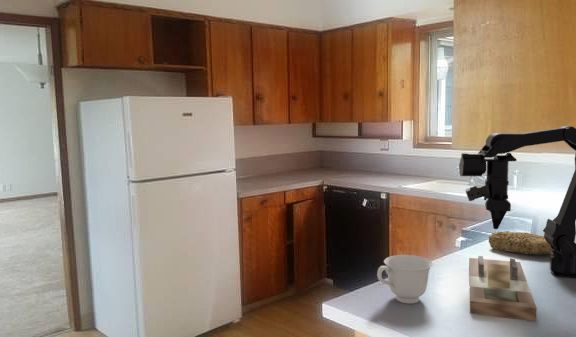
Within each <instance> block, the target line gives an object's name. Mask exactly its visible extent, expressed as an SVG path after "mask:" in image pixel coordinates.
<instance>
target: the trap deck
mask: <svg viewBox="0 0 576 337" xmlns="http://www.w3.org/2000/svg"><path fill="white" fill-rule="evenodd" d="M477 257H478V258H475V257H469V258H468V275H469V276H468V277H469V279H468V282H469V285H468V286H470V288H469V313H470V314H474V313H477V314H476V315H484V316H492V317H501V318H509V319H517V320H525V321H533V322H536V321H537V307H536V303H535V300H534V298H533V294H532V292H531V289H530V287H529V284H528V281H527V278H526V275H525V273H524V269H523V266H522V264H521V262H520V261H516V258H512V257H511V258H509V260H500V259H487V258H486V259H485V258H484V256H483V255H478V256H477ZM488 264H499V265H509V269H510V289H508V288H498V287H489V286H488V281H487V274H488Z"/></svg>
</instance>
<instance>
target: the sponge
mask: <svg viewBox="0 0 576 337" xmlns="http://www.w3.org/2000/svg"><path fill="white" fill-rule="evenodd" d="M488 243H489V246H490V248H492V249H494V250H499V251H504V252H511V253H512V252H513V253H517V254H519V253H520V254H523V255H536V256H537V255H549V254H552V251H555V250H553V249H551V246H550V244H549V243H548V242H547V241H546V240H545V238H544V235H539V234H534V233H530V232H520V231H519V232H518V231H517V232H516V231H515V232H514V231H513V232H512V231H507V230H506V231H493V232H492V233H491V235H489V236H488Z"/></svg>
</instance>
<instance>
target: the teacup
mask: <svg viewBox="0 0 576 337" xmlns="http://www.w3.org/2000/svg"><path fill="white" fill-rule="evenodd" d="M383 263H384V264H385V265H380V266H379V267H378V269H377V273H376V275H377V279H378V281H379V282H380V283H382V284H384V285H388V286H389V288H390V291H391V292H392V293H393V294H394V295H396V301H398V302H399V303H402V304H408V305H409V304H416V303H418V302H419V301H420V297H421V296H423V295H424V294H425V292H426V291H427V287H428V278H429V274H430V269H431V267H433V266H434V265H433V261H431V260H430V259H428V258H426V257H423V256H419V255H415V254H414V255H413V254H395V255H390V256H388V257H386V258H385V259H384V260H383ZM383 271H385V273H386V275H387V278H388V280H386V279H384V278H383V277H382V276H383V275H382V274H383Z"/></svg>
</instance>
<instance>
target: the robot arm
mask: <svg viewBox="0 0 576 337" xmlns="http://www.w3.org/2000/svg"><path fill="white" fill-rule="evenodd" d="M558 142H564V143H565V144H567V146H568V147H570V148H571V149H572V150H573V151H575V152H576V127H575V126H572V125H571V126H570V125H569V126H568V125H562V126H560V127H555V128H554V127H553V128H548V129H541V130H536V131H527V132H521V133H518V132H517V133H514V132H513V133H512V132H495V133H490V134H489V135H488V136H487V138H486V140H485V144H484V145H483V146H482V147H481V149H480V150H479V151H478V152H477V153H466V152H464V153H463V152H462V153H461V157H460V159H459V162H458V171H459V175H460V177H482V176H483V175H484V174H486V178H485V179H484V183H482V184H479V185H474V186H470V187H469V188H466V189H465V193H466V196H467V199H468V201H469V202H472V201H475V200H478V199H479V198H480V199H481V198H483V200H484V201H485V202H484V205H485V206H484V207H485V210H486V211H488V212H490V216H491V221H492V227H493V230H498V229H499V227H500V226H501V224H502V221H503V220H504V217H505V216H506V213H507V212H511V207H512V206H511V202H510V201H509V200H508V199H509V194H508V187H509V183H510V182H509V162H517V158H516V157H514V155H512V153H511V152H513V151H516V150H519V149H520V148H524V147H530V146H537V145H543V144H550V143H558ZM574 154H575V155H574V166H575V167H574V172H573V173H572V177H571V180H570V182H569V185H568V187H567V190H566V193H565V196H564V198H563V201H562V204H561V205H560V209H559V211H558V214H557V216H556V217H555V218H554V219H553V220H552V219H550V218H548V219H547V220H546V225H545V226H544V228H543V229H542V231H543V233H544V234H543V236H544V238H545V240H546V241H547V242H548V243H549V244H550V246H551V249H553V250H555V251H552V253H551V254H552V255H550V256H549V271H550V272H551V273H552V275H553V276H556V277H567V278H576V242H575V241H576V153H574Z"/></svg>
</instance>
